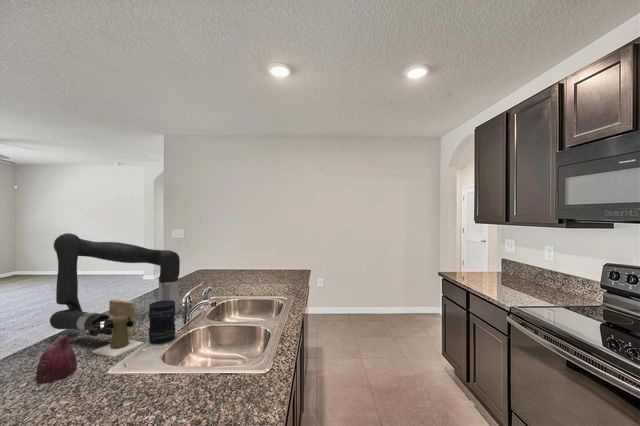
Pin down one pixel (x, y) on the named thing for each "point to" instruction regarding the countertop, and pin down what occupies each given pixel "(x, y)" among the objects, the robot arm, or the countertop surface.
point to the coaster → (117, 349)
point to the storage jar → (162, 321)
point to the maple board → (123, 312)
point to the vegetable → (56, 361)
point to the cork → (120, 332)
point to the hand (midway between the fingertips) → (122, 327)
